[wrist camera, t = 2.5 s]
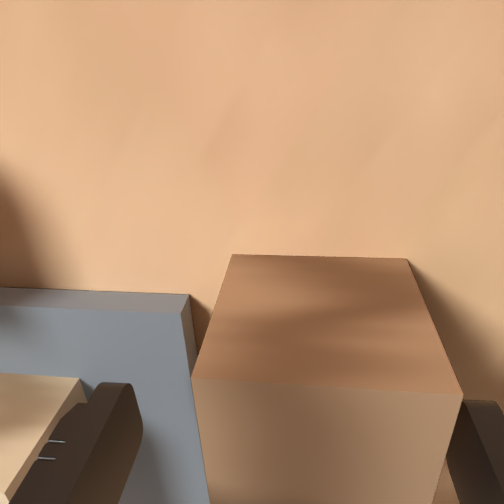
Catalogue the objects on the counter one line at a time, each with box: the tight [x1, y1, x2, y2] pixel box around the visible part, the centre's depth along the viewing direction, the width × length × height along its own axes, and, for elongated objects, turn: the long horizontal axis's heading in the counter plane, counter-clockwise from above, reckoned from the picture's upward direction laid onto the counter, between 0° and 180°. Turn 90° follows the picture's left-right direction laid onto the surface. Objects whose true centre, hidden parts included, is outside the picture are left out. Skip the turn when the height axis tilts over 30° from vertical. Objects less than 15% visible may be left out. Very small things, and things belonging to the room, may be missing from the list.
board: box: [0, 287, 210, 504], centre depth 16 cm, size 14×12×1 cm
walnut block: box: [191, 254, 463, 504], centre depth 11 cm, size 5×5×5 cm
